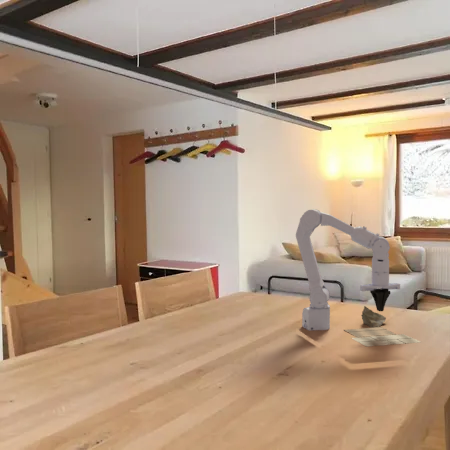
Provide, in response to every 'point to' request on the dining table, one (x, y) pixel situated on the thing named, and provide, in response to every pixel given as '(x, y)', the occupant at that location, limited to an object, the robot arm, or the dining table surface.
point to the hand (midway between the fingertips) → (380, 310)
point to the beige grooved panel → (385, 340)
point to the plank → (369, 332)
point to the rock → (372, 318)
